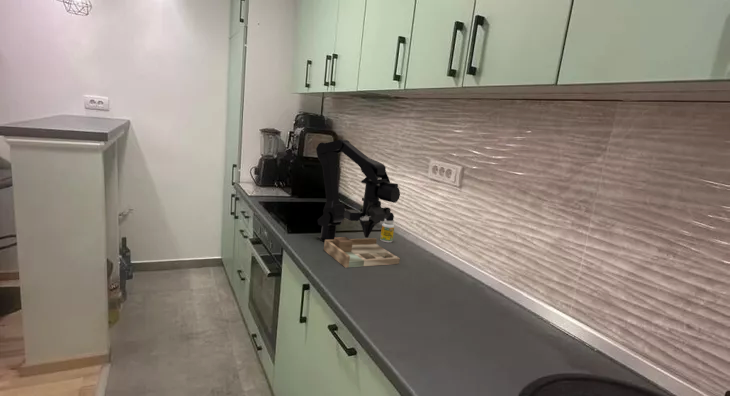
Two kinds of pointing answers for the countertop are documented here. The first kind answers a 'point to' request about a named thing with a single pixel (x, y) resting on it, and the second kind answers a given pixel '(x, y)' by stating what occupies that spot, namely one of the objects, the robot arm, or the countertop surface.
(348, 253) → the trap board
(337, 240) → the walnut block
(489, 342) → the countertop surface
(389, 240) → the supplement bottle
